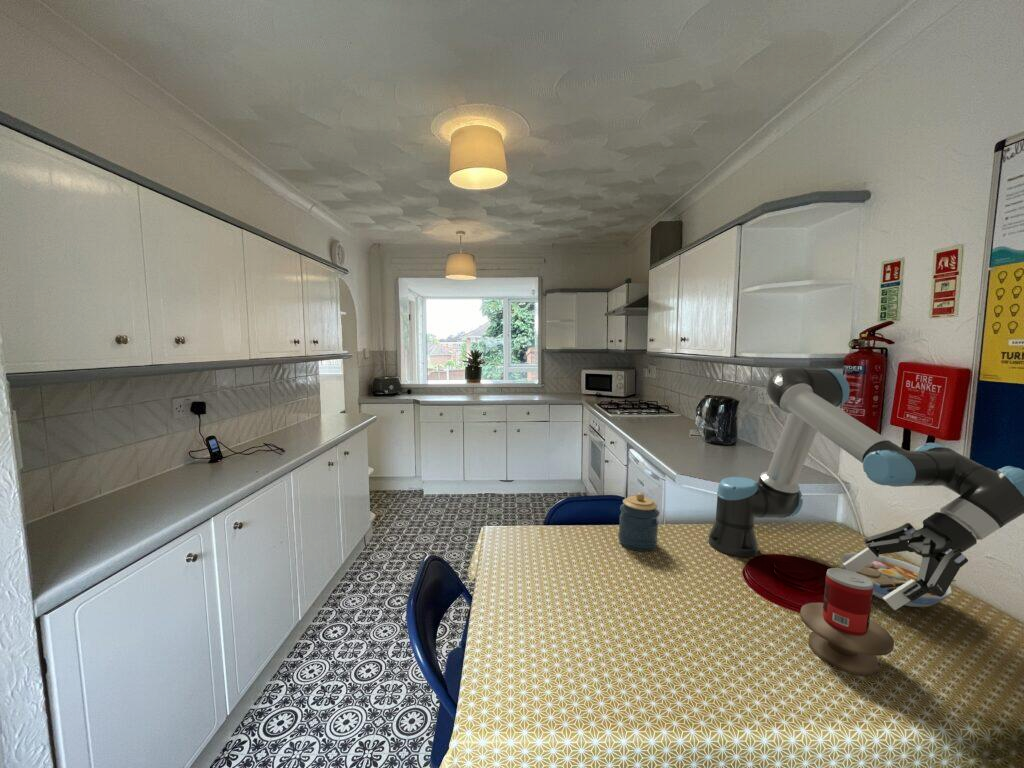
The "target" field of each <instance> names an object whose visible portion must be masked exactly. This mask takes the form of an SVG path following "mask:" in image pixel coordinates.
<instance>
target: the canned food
mask: <svg viewBox="0 0 1024 768" xmlns="http://www.w3.org/2000/svg"><path fill="white" fill-rule="evenodd" d="M824 583H825V585H824V594H823V602H822V603H823V618H824V620H825V621H826V622H827V623H828V624H829V625H830V626H832V627H833V628H835V629H837V630H839V631H842V632H844V633H847V634H851V635H865V634H866V633H867V632H868V630H869V621H870V619H871V614H872V613H871V612H872V603H873V596H874V595H873V582H872V581H871V580H870V579H868V578H867V577H865V576H863V575H861V574H859V573H856V572H853V571H850V570H846V569H845V568H839V567H831V568H828V569H827V571H826V574H825V581H824Z"/></svg>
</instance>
